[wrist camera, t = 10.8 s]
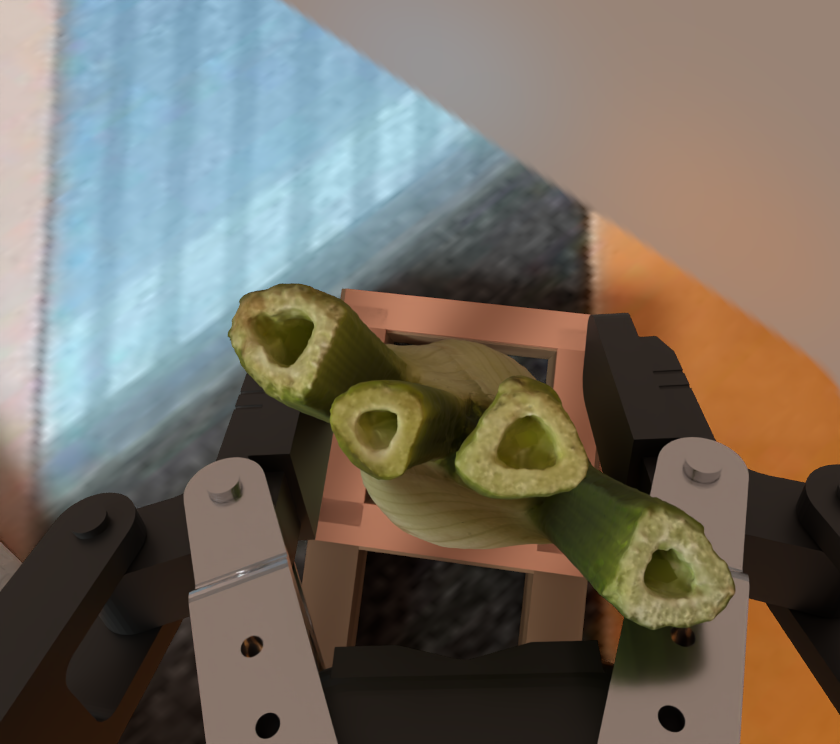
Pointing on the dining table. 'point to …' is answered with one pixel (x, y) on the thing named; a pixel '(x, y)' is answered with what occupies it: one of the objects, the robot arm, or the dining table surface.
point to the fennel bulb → (476, 453)
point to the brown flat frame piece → (373, 531)
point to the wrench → (7, 565)
